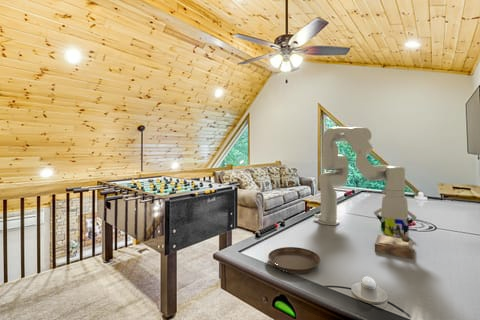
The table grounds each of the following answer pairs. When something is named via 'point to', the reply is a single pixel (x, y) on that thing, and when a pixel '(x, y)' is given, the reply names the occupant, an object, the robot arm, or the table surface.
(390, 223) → the puzzle toy
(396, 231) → the eagle figurine
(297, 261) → the plant saucer
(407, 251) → the walnut tray
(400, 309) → the table surface
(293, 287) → the table surface
